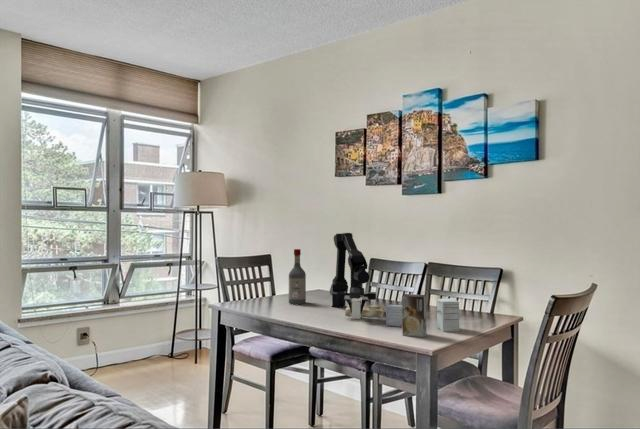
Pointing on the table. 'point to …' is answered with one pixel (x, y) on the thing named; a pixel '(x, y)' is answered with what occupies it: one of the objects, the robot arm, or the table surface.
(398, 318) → the medicine box
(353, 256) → the robot arm
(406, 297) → the coffee box
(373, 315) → the socket block
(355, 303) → the white squarish block
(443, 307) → the supplement box
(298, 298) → the liquor
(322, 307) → the table surface
